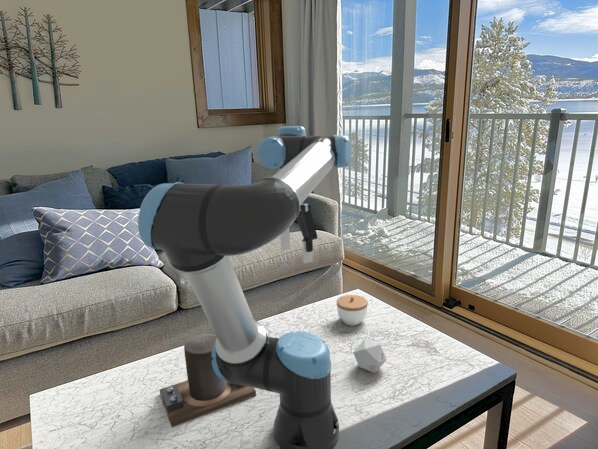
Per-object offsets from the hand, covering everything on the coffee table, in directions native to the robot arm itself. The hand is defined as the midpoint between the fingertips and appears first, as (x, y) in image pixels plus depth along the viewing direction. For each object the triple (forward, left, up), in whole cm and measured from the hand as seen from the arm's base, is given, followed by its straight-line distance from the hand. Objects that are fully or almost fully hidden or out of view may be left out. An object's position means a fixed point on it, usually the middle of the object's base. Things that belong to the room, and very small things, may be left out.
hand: (296, 255), depth 120 cm
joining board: (-5, +31, -32) cm, 45 cm away
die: (-18, -13, -32) cm, 39 cm away
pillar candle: (-5, +31, -30) cm, 43 cm away
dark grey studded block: (-5, +31, -30) cm, 44 cm away
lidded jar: (+7, -25, -32) cm, 41 cm away
